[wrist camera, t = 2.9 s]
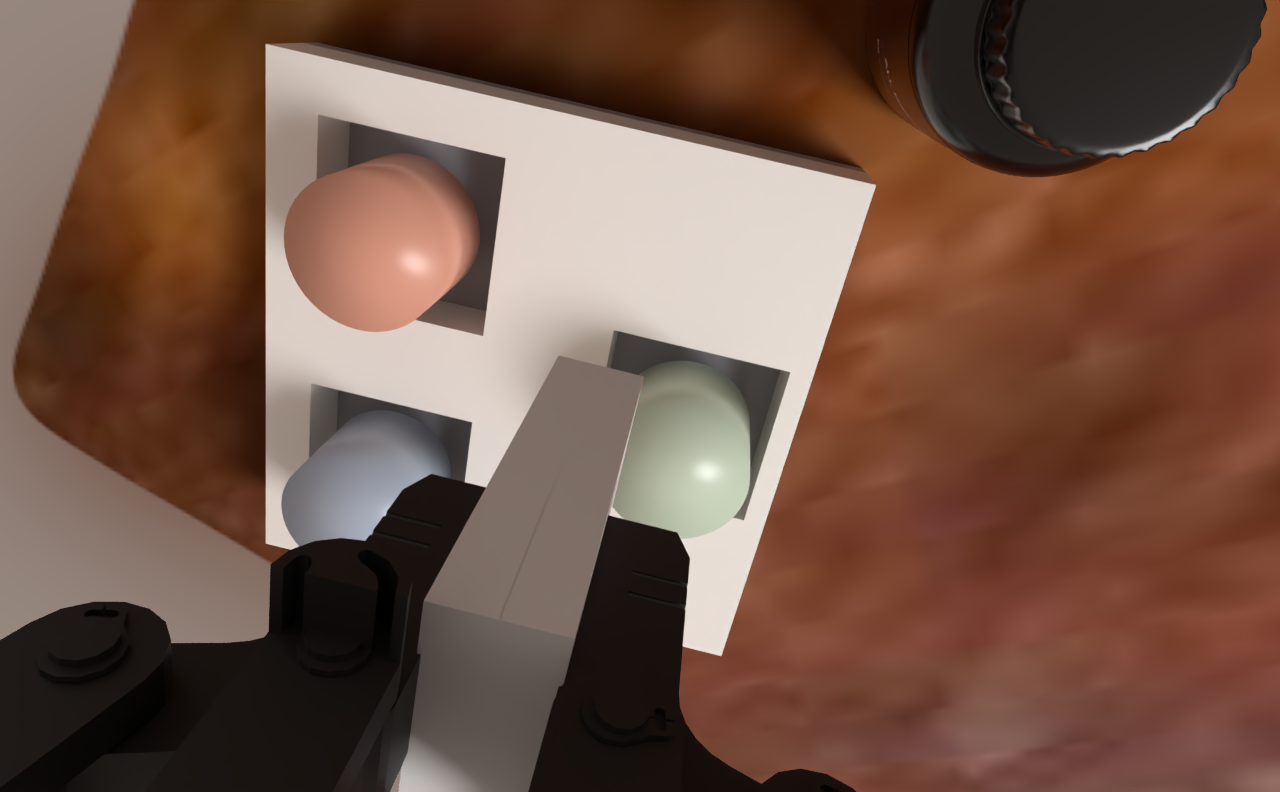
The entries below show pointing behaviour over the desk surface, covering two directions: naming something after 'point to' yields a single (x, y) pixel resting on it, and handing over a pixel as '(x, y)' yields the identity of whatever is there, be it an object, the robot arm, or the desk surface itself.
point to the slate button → (359, 476)
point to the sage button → (686, 451)
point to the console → (556, 275)
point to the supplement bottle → (1057, 74)
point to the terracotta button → (381, 240)
